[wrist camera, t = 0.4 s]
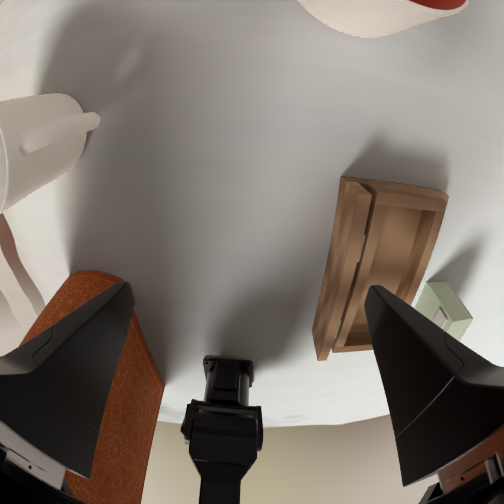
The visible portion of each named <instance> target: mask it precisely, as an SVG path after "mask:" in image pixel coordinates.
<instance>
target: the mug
mask: <svg viewBox="0 0 504 504" xmlns="http://www.w3.org/2000/svg"><path fill="white" fill-rule="evenodd" d="M99 123H100V117H99V115H98V114H97V113H94V112H89V113H83V110H82V108H81V106H80V105H79V104H78V102H77V101H76V100H75V99H74V98H72V97H71V96H69V95H66V94H62V93H50V94H42V95H35V96H28V97H22V98H16V99H11V100H6V101H1V102H0V214H1V213H2V212H4V211H5V210H6V209H8V208H9V207H11V206H12V205H14V204H15V203H17V202H18V201H20V200H21V199H23V198H24V197H26V196H28V195H29V194H31V193H32V192H34V191H36V190H37V189H39V188H41V187H42V186H44V185H46V184H48V183H49V182H51V181H53V180H55V179H57V178H58V177H60V176H62V175H64V174H65V173H67V172H68V171H69V170H71V169H72V168H73V167H74V166H75V165H76V163H77V162H78V160H79V159H80V157H81V155H82V153H83V150H84V147H85V143H86V136H87V132H89V131H91V130H93V129H95V128H97V127H98V125H99Z"/></svg>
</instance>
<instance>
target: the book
mask: <svg viewBox="0 0 504 504" xmlns="http://www.w3.org/2000/svg"><path fill="white" fill-rule="evenodd" d="M119 281H124V280H123V279H120V278H118V277H116V276H113V275H111V274H108V273H105V272H100V271H90V270H86V271H79V272H76V273H74V274H72V275H70V276H69V277H68V278H67V280H66V281H65V282H64V283H63V285H62V286H61V287H60V289H59V290H58V291H57V292H56V294H55V295H54V296H53V298H52V299H51V300H50V302H49V303H48V304H47V306H46V307H45V309H44V310H43V311H42V313H41V314H40V315H39V317H38V318H37V320H36V321H35V323H34V324H33V326H32V327H31V328H30V330H29V331H28V333H27V335H26V336H25V338H24V339H23V341H22V342H21V344H20V345H19V346H21V345H23V344H24V343H26V342H27V341H29V340H31V339H32V338H34V337H36V336H37V335H39V334H40V333H42V332H43V331H45V330H46V329H48V328H49V327H50V326H52V325H54V324H55V323H56V322H58V321H59V320H61V319H62V318H64V317H65V316H66V315H68V314H69V313H71V312H72V311H74V310H75V309H77V308H78V307H80V306H81V305H83V304H84V303H86V302H88V301H89V300H91V299H92V298H94V297H95V296H97V295H98V294H100V293H101V292H103V291H104V290H106V289H108V288H109V287H111V286H112V285H114V284H115V283H117V282H119ZM164 388H165V386H164V384H163V382H162V380H161V378H160V375H159V373H158V371H157V369H156V366H155V364H154V362H153V359H152V357H151V355H150V352H149V350H148V347H147V345H146V342H145V340H144V337H143V335H142V332H141V329H140V327H139V324H138V321H137V318H136V316H135V313H134V310H133V313H132V317H131V321H130V325H129V330H128V334H127V338H126V341H125V344H124V347H123V350H122V353H121V356H120V359H119V362H118V365H117V369H116V372H115V375H114V378H113V382H112V385H111V389H110V392H109V396H108V399H107V403H106V407H105V411H104V414H103V418H102V422H101V427H100V431H99V436H98V440H97V445H96V450H95V454H94V460H93V465H92V470H91V476H90V479H87V478H85V477H82V476H80V475H78V474H75V473H73V472H71V471H69V470H67V469H66V471H65V475H64V478H65V479H66V481H67V483H68V485H69V487H70V489H71V491H72V493H73V495H74V496H75V497H76V498H78V499H80V500H82V501H84V502H87V503H89V504H141V499H142V493H143V487H144V481H145V476H146V470H147V465H148V460H149V454H150V450H151V445H152V440H153V436H154V431H155V426H156V421H157V418H158V413H159V409H160V405H161V400H162V396H163V392H164Z"/></svg>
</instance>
